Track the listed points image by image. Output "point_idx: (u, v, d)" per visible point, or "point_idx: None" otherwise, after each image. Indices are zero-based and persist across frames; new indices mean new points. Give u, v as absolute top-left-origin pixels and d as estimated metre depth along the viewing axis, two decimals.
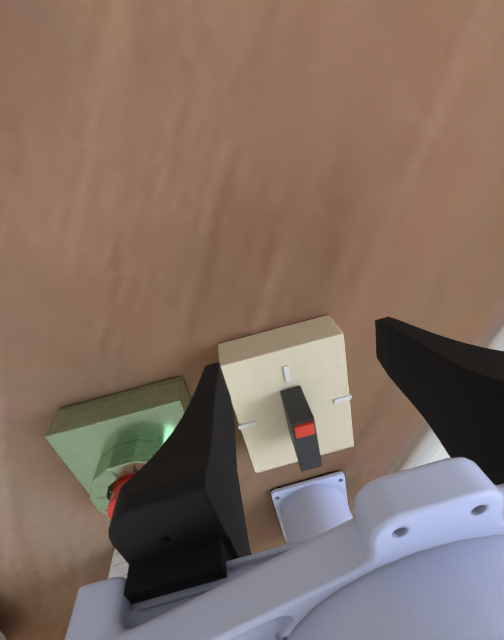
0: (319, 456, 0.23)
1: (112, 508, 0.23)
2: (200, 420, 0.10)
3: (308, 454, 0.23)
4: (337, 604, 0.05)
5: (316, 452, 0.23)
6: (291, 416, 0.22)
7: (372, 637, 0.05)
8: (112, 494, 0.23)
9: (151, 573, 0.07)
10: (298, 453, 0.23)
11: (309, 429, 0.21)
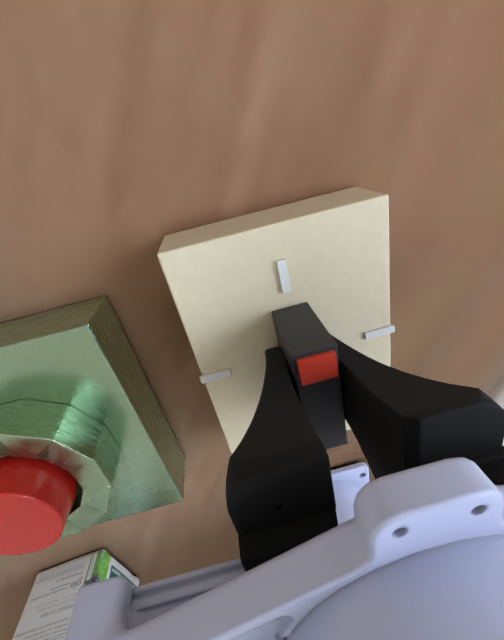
0: (343, 425, 0.13)
1: None
2: (284, 397, 0.10)
3: (323, 419, 0.12)
4: (337, 604, 0.05)
5: (338, 417, 0.12)
6: (291, 343, 0.11)
7: (372, 637, 0.05)
8: None
9: (264, 541, 0.08)
10: None
11: (327, 366, 0.11)
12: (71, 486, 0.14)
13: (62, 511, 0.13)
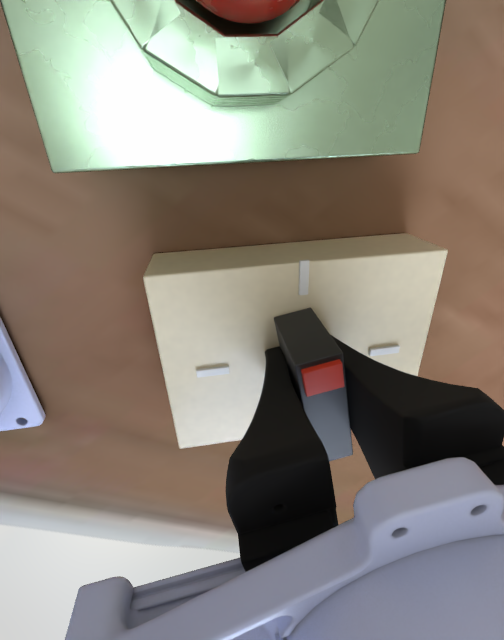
0: (348, 436, 0.12)
1: None
2: (283, 397, 0.10)
3: (328, 430, 0.12)
4: (337, 604, 0.05)
5: (343, 428, 0.12)
6: (295, 352, 0.11)
7: (372, 637, 0.05)
8: None
9: (264, 541, 0.08)
10: None
11: (333, 376, 0.10)
12: (240, 16, 0.07)
13: None
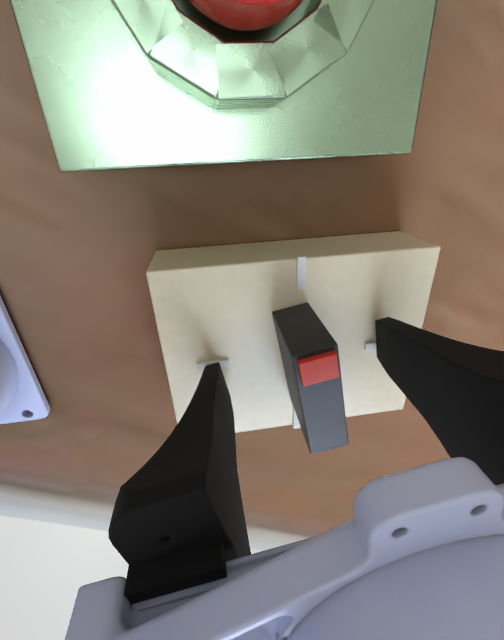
0: (344, 426, 0.13)
1: None
2: (200, 420, 0.10)
3: (324, 420, 0.12)
4: (337, 604, 0.05)
5: (339, 418, 0.12)
6: (292, 344, 0.11)
7: (372, 637, 0.05)
8: None
9: (151, 573, 0.07)
10: (305, 419, 0.12)
11: (328, 367, 0.11)
12: (239, 24, 0.08)
13: (245, 7, 0.07)
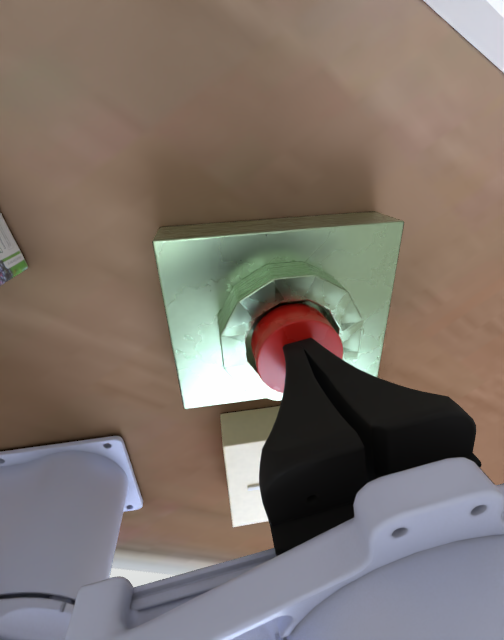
0: None
1: (324, 332, 0.14)
2: (308, 391, 0.10)
3: None
4: (337, 604, 0.05)
5: None
6: None
7: (372, 637, 0.05)
8: (329, 323, 0.15)
9: (297, 532, 0.08)
10: None
11: None
12: None
13: None
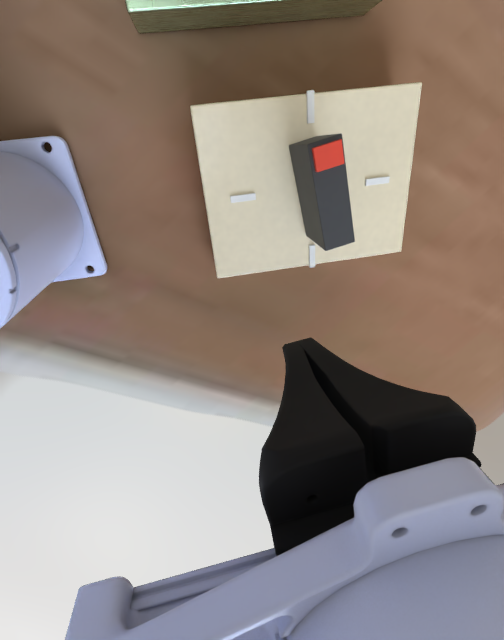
0: (350, 221, 0.16)
1: None
2: (308, 391, 0.10)
3: (334, 214, 0.16)
4: (337, 604, 0.05)
5: (346, 211, 0.16)
6: (306, 143, 0.15)
7: (372, 637, 0.05)
8: None
9: (297, 532, 0.08)
10: (320, 211, 0.16)
11: (335, 152, 0.14)
12: None
13: None
